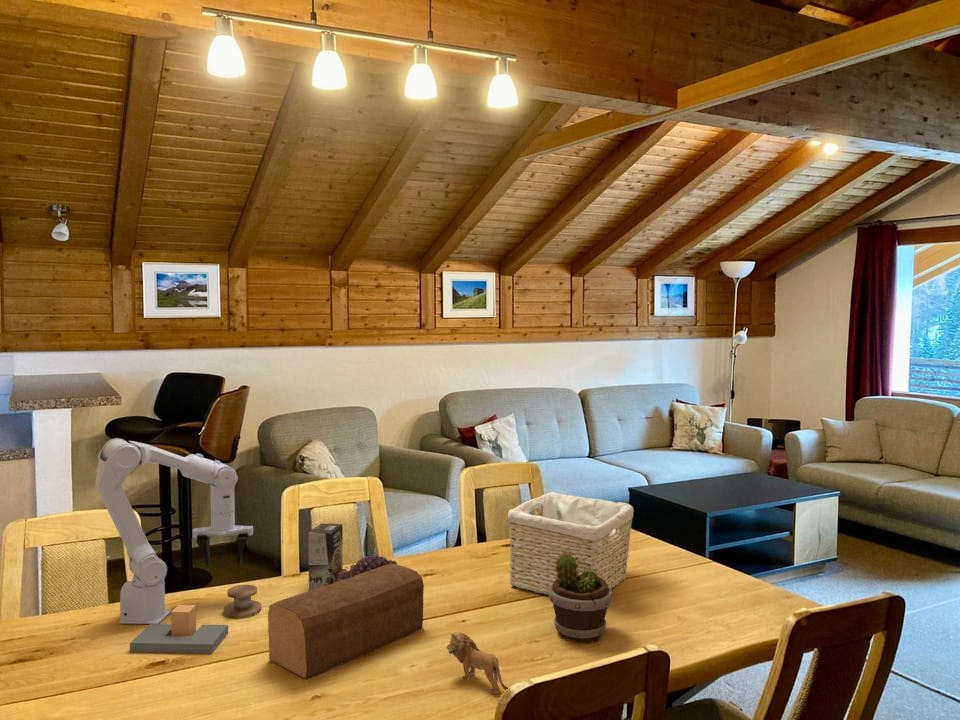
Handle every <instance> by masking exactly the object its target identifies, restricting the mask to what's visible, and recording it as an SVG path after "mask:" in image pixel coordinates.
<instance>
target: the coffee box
mask: <svg viewBox="0 0 960 720" xmlns="http://www.w3.org/2000/svg"><path fill="white" fill-rule="evenodd" d="M343 546H344V545H343V524H342V523H323V522H321V523H320V524H319V525H317V526H315V527H314V528H313V529H311V530H309V531H308V591H311V590H314V589H317V588H319V587H323V586H327V585H330V584H333V583H335V582H338V581H341V580H342V579H341V578H340V576H337V574H339V573H341V571H342V570H343V565H344V564H343V550H344V549H343Z"/></svg>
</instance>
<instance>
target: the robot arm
mask: <svg viewBox="0 0 960 720" xmlns="http://www.w3.org/2000/svg"><path fill="white" fill-rule="evenodd" d="M97 458H98V459H97V460H98V464H97V471H96V477H95V484H94V485H95V488H96V489H97V492H98V494H99V495H100V498H101V500H102V502H103V503H104V506H105V508H106V510H107V512H108V514H109V516H110V519H111V520H112V522H113V524H114V527H115V528H116V530H117V532H118V535H119V536H120V539H121V540H122V543H123V545H124V546H125V548H126V555H127V556H128V559H129V560H128V561H129V562H128V568H129V570H130V572H131V573H132V574H133V577H132V579H131V580H127V581H126V582H124V584H123V585H122V586H121V588H120V594H119V603H120V604H119V609H120V610H119V611H120V620H119V622H118V623H119V624H128V625H129V624H130V625H132V624H133V625H138V624H139V625H150V624H161V622H162V621H164V620H165V618H166V617H167V616H168V615H170V614H171V612H172V611H173V609H171V608H166V593H165V592H166V589H165V586H166V585H165V578H166V576H167V572H168V567H167V563H166V562H165V561H163V560H162V559H161V558H160V557H158V555H157V553H156V551H155V549H154V548H153V547H152V546H151V543H149V540H148V538H147V536H146V535H145V534H146V533H145V532H144V530H143V528H142V526H141V524H140V522H139V519H138V518H137V516H136V514H135V511H134V509H133V507H132V506H131V503H130V501H129V499H128V496H127V494H126V493H125V491H124V489H123V487H122V486H123V483H124V482H125V480H126V478H127V477H128V475H129V474H130V473H132V472H133V470H134V469H135V468H136V467H137V466H138V465H141V466H144V465H147V464H149V463H155V464H159V465H163V466H166V467H170V468H173V469H177V470H179V471H180V473H181V475H182V477H185V478H188V479H190V480H195V481H197V482H201V483H204V484H210V526H206V527H196V528H195V527H194V528H193V529H192V538H193V539H196V544H197V546H198V547H199V548H200V551H201V553H202V555H203V560H204V563H205V566H206V567H207V566H210V564H211V552H210V551H211V550H210V549H211V547H210V545H211V544H210V540H211V537H227V536H229V537H230V536H231V537H233V536H237V538H236V546H237V548H236V550H237V554H236V555H237V557H236V561H237V563H236V564H237V565H240V564H241V563H242V559H243V552H244V549H245V546H246V543H247V541H248V539H249V537H251V536H253V535H254V526H253V525H235V524H236V522H235V521H236V520H235V511H236V510H235V509H236V508H235V507H236V506H235V485H236V484H237V482H238V480H239V476H238V474H237V471H236V470H235V469H234V467H232V466H229V465H227V464H225V463H223V462H221V461H220V460H217V459H214V460H212V459H209V458H205V457H204V454H201V453H199V452H198V453H195V454H193V453H190V454H189V455H187V456H182V455H179V454H176V453H173V452H170V451H167V450H165V449H161V448H159V447H156V446H154V445H150V444H147V443H143V442H139V441H133V440H128V441H127V440H126V439H123V438H120V437H119V438H118V437H115V438H113V439H109V440H108V441H107V442H105V444H104V445H103V447H102V448H101V449H100V452H99V453H98V455H97Z"/></svg>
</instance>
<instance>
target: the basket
mask: <svg viewBox="0 0 960 720" xmlns="http://www.w3.org/2000/svg"><path fill="white" fill-rule="evenodd" d="M534 510H535V511H536V515H535V514H534V515H533V514H532V513H531V512H533V511H534ZM634 511H635V510H634V507H633V505H631V504H629V503H626V502H622V501H619V502H615V501H611V500H605V499H601V498H592V497H589V498H588V497H584V496H583V497H582V496H578V495H569V494H564V493H557V492H555V491H551V492H548V493H545V494H543V495H540V496H538V497H535V498H532V499H529V500H527V501H525V502H522V503H521V504H518V506H516V507H514V508H512V509H511V508H510V509H509V511H508V513H507V520H508V522H509V545H510V546H509V552H510V554H509V560H510V561H509V565H510V567H509V568H510V569H509V575H510V577H509V584H510V585H511V586H512V587H516V588H517V589H522V590H527V591H531V592H534V593H535V594H544V595H548V596H549V588H550V586H551V585H552V584H553V583H554V581H555V580H556V579H558V578H555V577H556V575H555V574H557V575H558V573H557V572H558V571H555V570H554V569H555V567H557V565H556V564H557V563H556V562H557V560H558V559H559V558H560V556H562V553H563V552H564V553H567V552H569V553H570V552H571V551H572V552H571V554H572V555H570V556H572V557H574V559H575V558H576V559H577V560H575V561H576V564H577V565H578V567H577V568H576V571H577V570H578V572H579V573H578V574H577V575H581V574H582V573H584V572H585V570H586V571H589V569H591V570H592V569H595V571H596V572H595V571H594V570H592V571H593V572H595V573H596V574H597V576H598V577H599V578H602V579H604V580H605V582H606V583H607V585H608V587H610V588H611V590H612V589H613V588H614V587H615V586H618V585H619V584H620V583H621V582H622V581H624V580H626V576H627V567H628V564H627V563H628V558H629V548H630V539H631V531H632V523H633V518H634ZM565 549H566V550H565ZM561 551H562V552H561ZM565 551H566V552H565ZM559 555H560V556H559ZM567 555H568V554H567ZM557 556H559V557H557ZM555 561H556V562H555ZM579 565H580V566H579ZM591 566H592V567H591ZM588 567H589V568H588ZM590 567H591V568H590ZM587 568H588V569H587ZM556 569H557V568H556ZM583 570H584V571H583Z"/></svg>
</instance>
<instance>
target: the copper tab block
mask: <svg viewBox="0 0 960 720" xmlns="http://www.w3.org/2000/svg"><path fill="white" fill-rule="evenodd" d="M170 614H171V615H170V616H171V617H170V621H171V623H170V624H171V625H172V636H192V635H193V634H194V633H195V632H196V631H197V605H196V604H178V605H176V607H174V609H172V611H171V612H170Z"/></svg>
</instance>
